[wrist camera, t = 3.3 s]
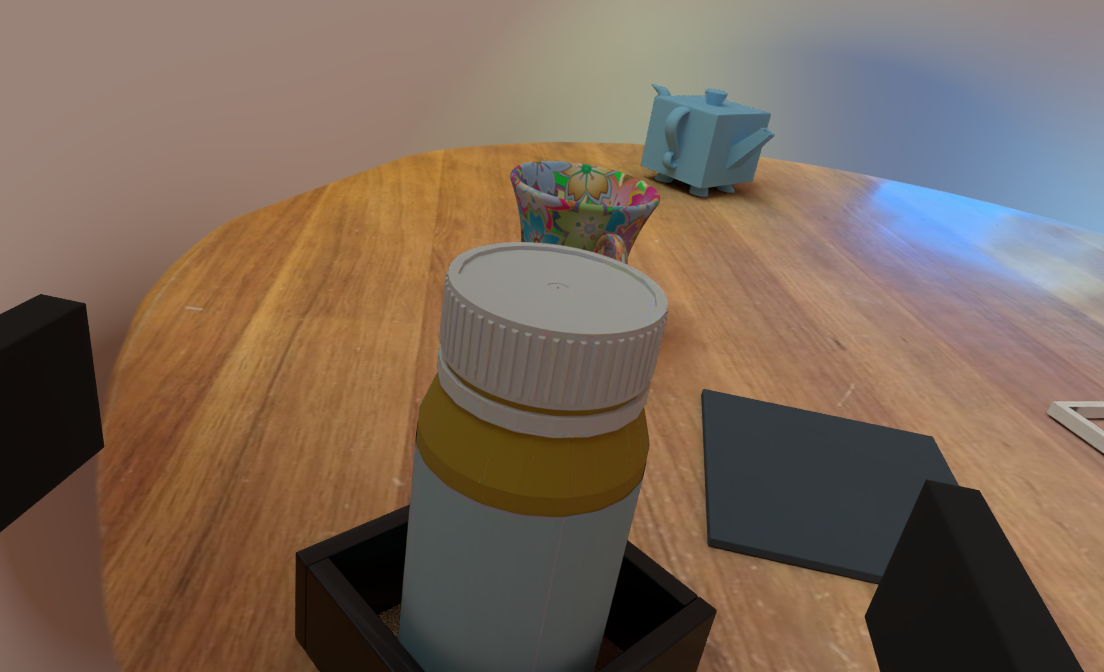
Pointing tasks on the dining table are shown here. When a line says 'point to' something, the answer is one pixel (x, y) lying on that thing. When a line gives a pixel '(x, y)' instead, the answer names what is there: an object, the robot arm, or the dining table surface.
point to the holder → (376, 584)
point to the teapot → (704, 140)
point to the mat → (811, 484)
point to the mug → (582, 206)
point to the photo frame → (1081, 419)
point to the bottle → (528, 458)
